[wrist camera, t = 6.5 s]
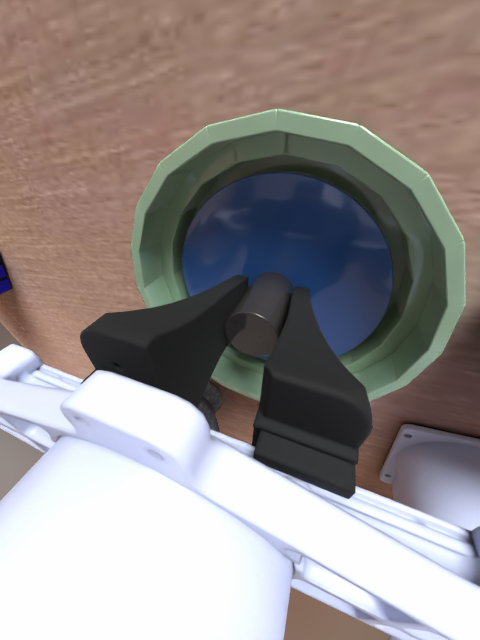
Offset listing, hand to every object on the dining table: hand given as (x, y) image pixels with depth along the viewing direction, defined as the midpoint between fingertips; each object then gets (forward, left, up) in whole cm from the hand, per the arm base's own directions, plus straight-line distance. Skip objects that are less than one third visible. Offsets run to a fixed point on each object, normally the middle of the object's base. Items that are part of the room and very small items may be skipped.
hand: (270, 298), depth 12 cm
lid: (0, 0, -1) cm, 1 cm away
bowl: (0, 0, -2) cm, 2 cm away
